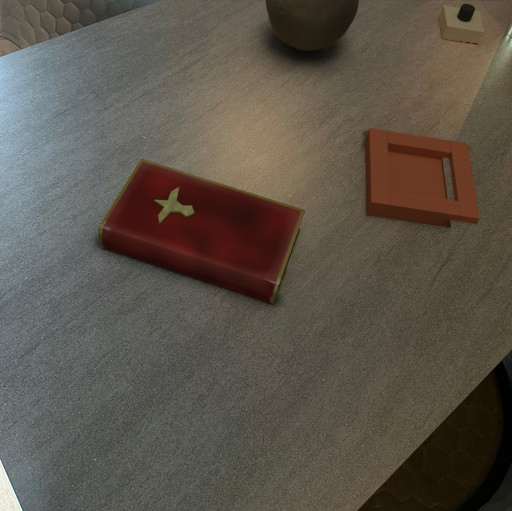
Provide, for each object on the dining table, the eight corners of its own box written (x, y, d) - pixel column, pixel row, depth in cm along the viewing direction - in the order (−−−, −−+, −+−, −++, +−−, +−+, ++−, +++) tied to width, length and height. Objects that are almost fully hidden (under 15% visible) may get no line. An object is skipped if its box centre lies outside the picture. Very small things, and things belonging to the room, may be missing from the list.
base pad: (460, 155, 90) (467, 143, 88) (472, 230, 81) (479, 218, 79) (364, 140, 89) (369, 127, 87) (366, 214, 81) (371, 202, 79)
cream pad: (474, 23, 111) (484, 0, 108) (478, 44, 107) (489, 21, 104) (438, 17, 111) (447, -7, 108) (441, 38, 107) (451, 15, 104)
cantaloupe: (256, 18, 104) (268, -73, 92) (339, 24, 106) (361, -65, 94) (261, 71, 96) (275, -21, 84) (351, 77, 98) (377, -13, 86)
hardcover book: (272, 307, 71) (278, 286, 67) (100, 250, 72) (97, 227, 69) (299, 230, 78) (305, 208, 75) (141, 180, 80) (141, 156, 76)
